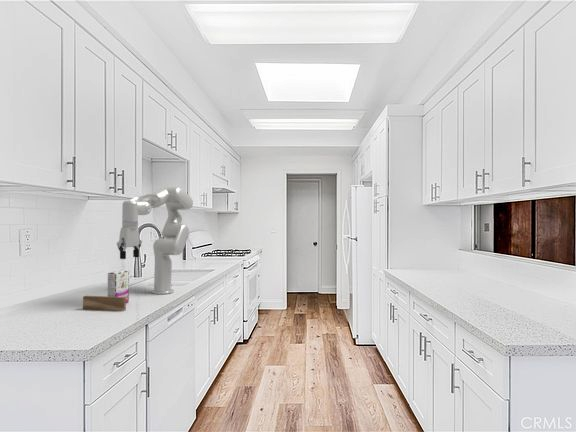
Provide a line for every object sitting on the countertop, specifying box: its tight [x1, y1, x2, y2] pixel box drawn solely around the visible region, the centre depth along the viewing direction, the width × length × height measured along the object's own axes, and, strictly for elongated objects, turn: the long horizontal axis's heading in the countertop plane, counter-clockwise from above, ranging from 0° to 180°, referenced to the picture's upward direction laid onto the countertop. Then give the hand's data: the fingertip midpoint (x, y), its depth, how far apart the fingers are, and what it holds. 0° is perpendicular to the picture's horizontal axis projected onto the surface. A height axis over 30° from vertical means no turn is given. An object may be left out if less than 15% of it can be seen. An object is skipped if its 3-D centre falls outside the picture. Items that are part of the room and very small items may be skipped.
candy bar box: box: [107, 269, 130, 304], centre depth 203 cm, size 11×5×16 cm, turn 168°
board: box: [82, 295, 127, 312], centre depth 191 cm, size 2×20×6 cm, turn 84°
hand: (129, 258), depth 210 cm, fingers open, 9 cm apart
